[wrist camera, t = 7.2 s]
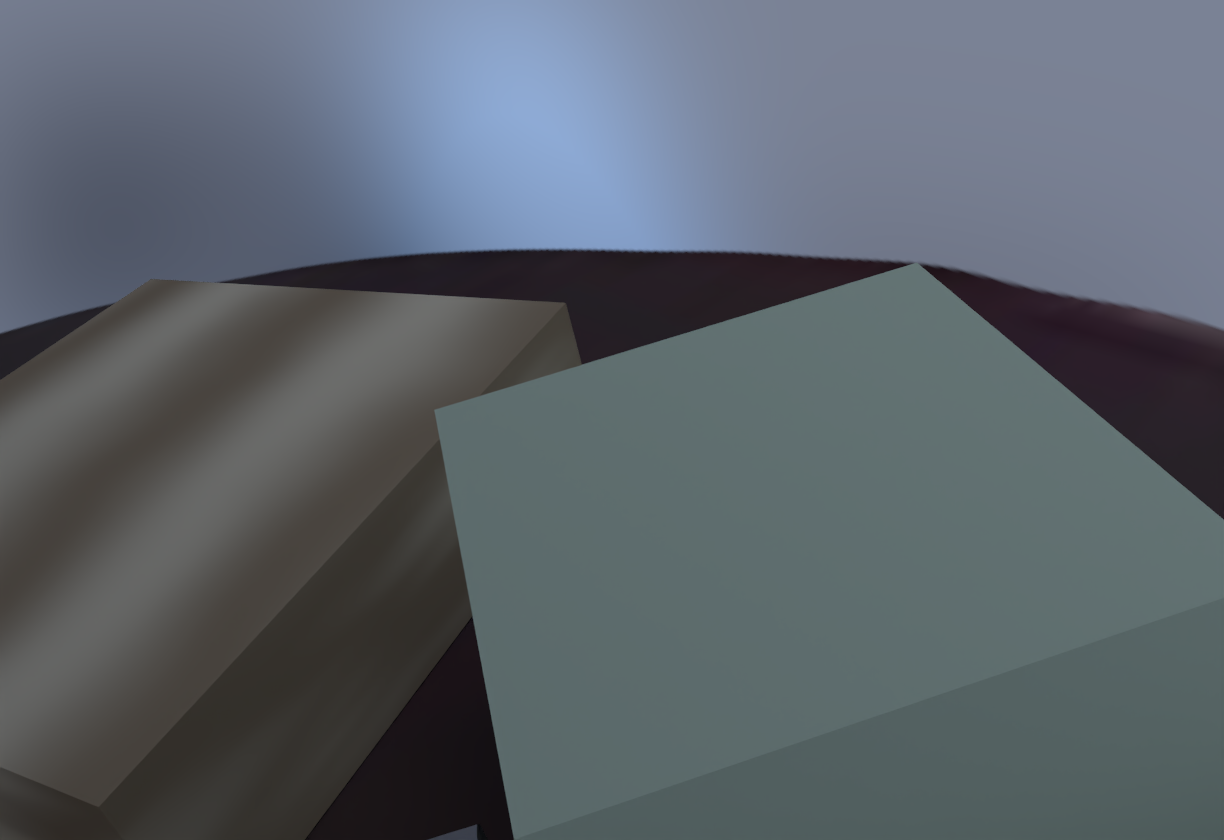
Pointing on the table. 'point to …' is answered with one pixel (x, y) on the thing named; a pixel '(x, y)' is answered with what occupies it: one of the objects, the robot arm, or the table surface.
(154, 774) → the birch base block
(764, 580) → the sage block
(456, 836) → the robot arm
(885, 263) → the table surface
